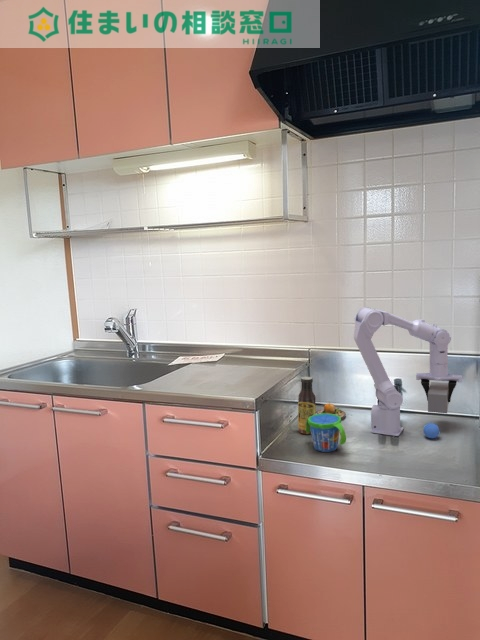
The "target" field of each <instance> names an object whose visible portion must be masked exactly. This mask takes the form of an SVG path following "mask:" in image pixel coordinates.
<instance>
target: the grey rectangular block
mask: <svg viewBox="0 0 480 640" xmlns="http://www.w3.org/2000/svg"><path fill="white" fill-rule="evenodd" d="M449 404H450V402H448V382H438V381H436V382H435V381H431V382H430V383H429V391H428V401H427V412H428V413H436V414H438V413H439V414H448V409H449Z"/></svg>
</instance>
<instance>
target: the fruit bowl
mask: <svg viewBox="0 0 480 640" xmlns="http://www.w3.org/2000/svg"><path fill="white" fill-rule="evenodd" d="M322 413H328V414H335V415H338V416H339V417H340V418H341V420H342V421H344V420H345V419H346V417H347V416H346V412H345V411H344V410H342V409H340V408H339V407H337V408H336V406H335V404H333V403H330V401H329V402H328V403H326V404H325V405H324V406H323V409H320V410H317V411H316V414H322Z"/></svg>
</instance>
